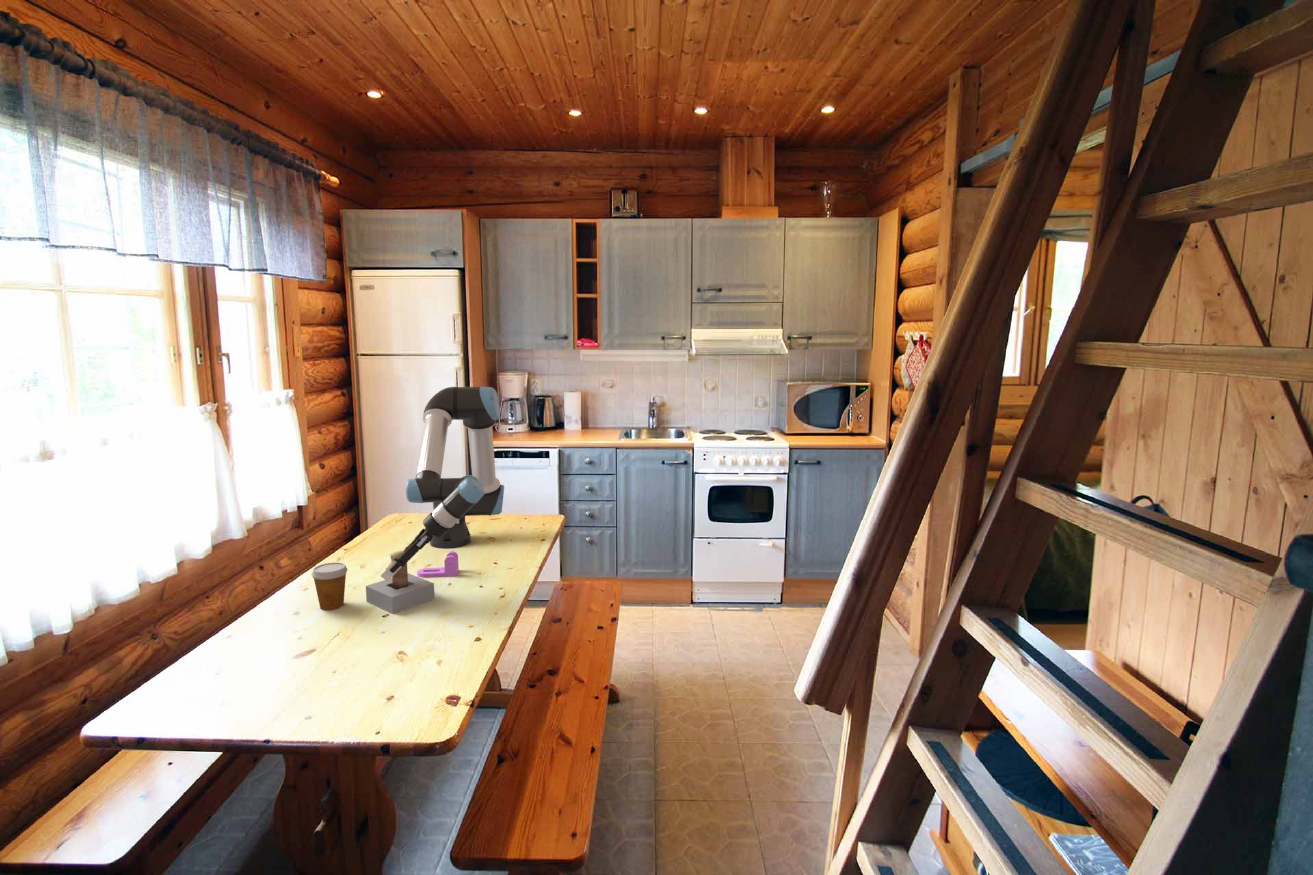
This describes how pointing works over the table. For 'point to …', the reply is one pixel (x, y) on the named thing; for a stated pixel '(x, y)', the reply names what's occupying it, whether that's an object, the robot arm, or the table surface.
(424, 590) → the socket block
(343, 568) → the disposable coffee cup
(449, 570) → the bracket
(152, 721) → the table surface
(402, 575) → the walnut pin
